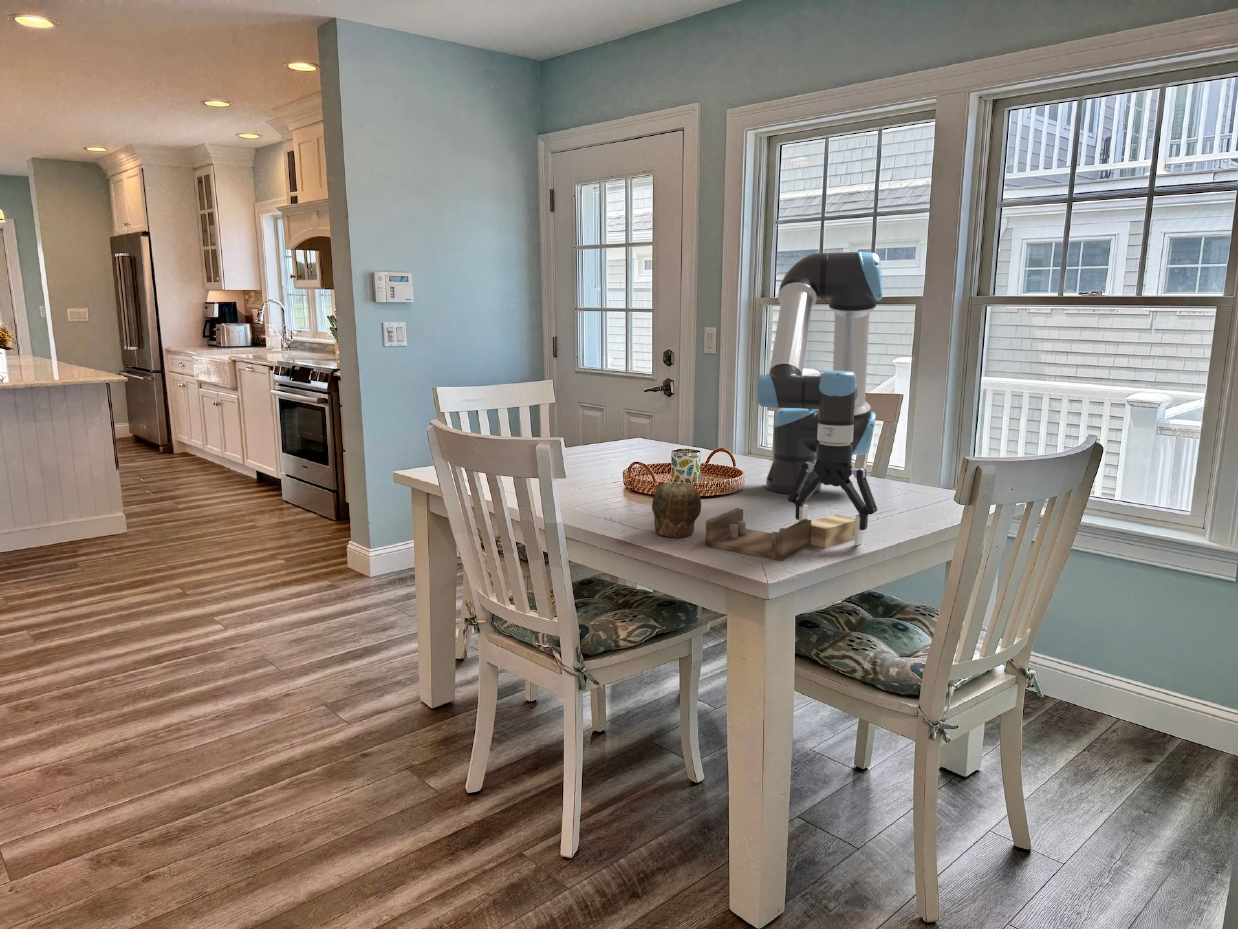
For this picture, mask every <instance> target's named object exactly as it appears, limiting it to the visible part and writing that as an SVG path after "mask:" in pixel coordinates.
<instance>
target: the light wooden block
mask: <svg viewBox="0 0 1238 929" xmlns="http://www.w3.org/2000/svg"><path fill="white" fill-rule="evenodd" d="M855 523H856V518H854V517H850V516H845V515H840V514H838V513H837V514H832V515H829V516H825V517H824V516H823V517H821V518H817V519H813V520H811V540H810V545H812V546H816V547H819V548H822V549H827V548H829V547H833V546H836V545H839V544H840V545H841V544H842V543H845V542H846V543H847V542H849V541H851V540H855Z"/></svg>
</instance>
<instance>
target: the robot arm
mask: <svg viewBox="0 0 1238 929" xmlns="http://www.w3.org/2000/svg"><path fill="white" fill-rule="evenodd" d="M882 277H883V276H882V267H881V259H880V257H879V255H878V254H877V253H875V252H864V251H849V252H848V251H847V252H846V251H845V252H815V253H811V254H809V255H807V256H805V257H803V258H801V259H800V260H799V261H797V262H796V263H795V264H793V266H791V268H790V269H789V270H788V271H786V274H785V275H784V277H783V279H782V281H781V283H780V284H779V289H778V294H777V300H778V302H779V304H780V306H779V312H778V319H777V323H776V324H777V325H776V330H775V336H774V343H773V349H772V353H771V361H770V367H769V373H767V374H761V375H759V377H758V379H757V385H756V401H757V404H758V405H759V406H761V407H765V408H773V409H778V410H776V412H775V416H774V424H773V428H774V433H773V457H772V458H773V459H772V463H771V466H770V469H769V471H768V474H767V477H766V479H765V480H766V481H765V488H766V489H767V490H769V491H771V492H776V493H780V494H787V495H788V494H789V495H788V498H787V501H788V502H789V503H792V504H794V505H795V516H794V517H795V520H798V522H799V521H801V520H803V519H808V506H809V505H808V504H806V502H807V501H808V500H809V499H810V497H812V495H813V494H814V493H818V492H820V491H821V489H822V484H823V486H833V487H840V488H841V489H842V491H844V492H845V494H846V495H847V497H848V499H849V500H850V502H851V503H852V504H853V506H854V507H855V509H856V511H857V515H855V519H856V523H855V539H853V540H854V544H853V545H854V546H859V545H861V544H862V543H863V535H864V534H863V532H864V531H866V530H867V528H868V521H869V518H868V517H869V516H870V515H873V514H875V513H877V512H878V507H877V505H876V501H875V499H874V496H873V494H872V490H871V488H870V485H869V482H868V480H867V470H866V468H865V467H861V468H853V466H852V461H853V460H852V459H853V456H854V455H855V456H859V455H860V456H863V455H866V454H868V452H870V448H871V444H872V440H873V435H874V429H875V424H876V418H877V414H876V413H875V412H873V411H871V405H870V404H869V403H868V402H867V401H866V393H867V392H866V390H867V389H866V388H867V372H868V371H867V370H868V349H869V348H868V347H869V345H868V344H869V330H870V329H869V328H870V314H871V312H873V310H875V309H876V308H877V301H881V300H882V299H883V294H884V293H883V292H884V291H883V278H882ZM819 300H821V301H827V300H828V302H829V303H828V309H830V310H831V311H832V312H833V314H834V325H833V326H834V330H833V332H834V334H833V356H832V357H833V359H832V360H833V361H832V363H833V365H832V370H824V371H823V372H822V373H821V374H820V375H803V371H804V370H803V369H804V365H805V364H804V363H805V356H806V348H807V342H808V335H809V334H808V333H809V328H810V321H811V320H810V319H811V313H812V309H813V307H814V306H815V304H816V303H817V301H819ZM852 475H853V477H854V479H856V482H857V485H858V486H857V487H858V489H859V491H860V494H861V496H860V495H859V493H858V491H857V489H856V488H855V486H854V485H853V484H854V483H853V482H852V480H851V479H850V477H851V476H852ZM861 497H862V498H861Z"/></svg>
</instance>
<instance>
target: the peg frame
mask: <svg viewBox="0 0 1238 929" xmlns="http://www.w3.org/2000/svg"><path fill="white" fill-rule="evenodd" d="M811 521H812V519H808V518H807V519H803V520H801V521H799V520H798V521H797V522H796V523H794V524H792V525H790V526H788V527H780V528H779V530H778V531H772V532H767V531H761V530H755V529H749V528H747V521H745V520H744V508H739V507H736V508H734V509H732V510H728V511H727V512H724V513H722V514H720V515H717V516H714V517H712V518H709V519H708V520H706V521H705V546H706V547H711V548H714V549H715V548H717V549H720V550H721V549H722V550H726V551H731V552H735V553H736V552H737V553H740V554H741V553H742V554H745V555H751V556H756V557H761V558H768V559H771V560H777V561H781V562H782V561H785V560H786V559H788V558H790V557H792V556H793V555H795V554H797V553H799V552H800V551H801V550H804V549H805V548H806V547H808V546H810V545H811V544H810V540H811Z"/></svg>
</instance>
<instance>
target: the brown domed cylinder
mask: <svg viewBox="0 0 1238 929" xmlns="http://www.w3.org/2000/svg"><path fill="white" fill-rule="evenodd" d="M701 500H702V499H701V494H700V492H699V490H698V489H697V488H696V487H695V486H694V485H692V484H690V483H685V482H680V483H678V482H676V481H672V482H665V483H661V485H659V486H658V488H657V489H656V490H655V493H654V495H653V498H652V503H651V509H652V512H653V515H654V516H653V517H654V520H653V522H654V529H655V532H656V533H657V535H659V536H662V537H667V538H676V539H680V538H688V537H690V536H692V535H693V533H694V530H695V524H696V523H695V522H696V520H697V519H698V517H699V516H700V515H701V512H702V510H701V509H702V501H701Z"/></svg>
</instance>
